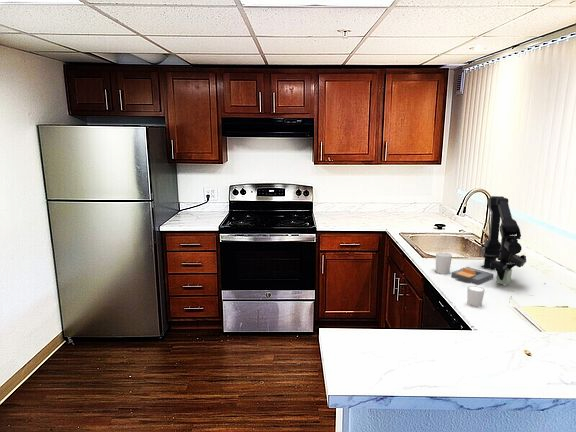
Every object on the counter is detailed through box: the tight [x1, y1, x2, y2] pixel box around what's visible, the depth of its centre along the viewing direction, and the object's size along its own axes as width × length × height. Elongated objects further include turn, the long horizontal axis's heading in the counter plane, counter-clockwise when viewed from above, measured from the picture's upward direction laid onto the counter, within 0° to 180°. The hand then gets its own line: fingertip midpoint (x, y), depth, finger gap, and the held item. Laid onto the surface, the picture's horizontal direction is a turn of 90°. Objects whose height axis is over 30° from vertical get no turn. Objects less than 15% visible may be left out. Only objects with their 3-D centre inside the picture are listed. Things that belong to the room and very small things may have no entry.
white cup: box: [435, 251, 453, 275], centre depth 214 cm, size 8×8×10 cm
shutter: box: [456, 267, 476, 278], centre depth 202 cm, size 6×7×2 cm
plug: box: [495, 267, 513, 286], centre depth 199 cm, size 4×5×9 cm
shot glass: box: [466, 285, 485, 308], centre depth 174 cm, size 7×7×7 cm
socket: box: [450, 266, 494, 286], centre depth 206 cm, size 15×14×2 cm
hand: (503, 278), depth 199 cm, fingers closed on plug, 4 cm apart
